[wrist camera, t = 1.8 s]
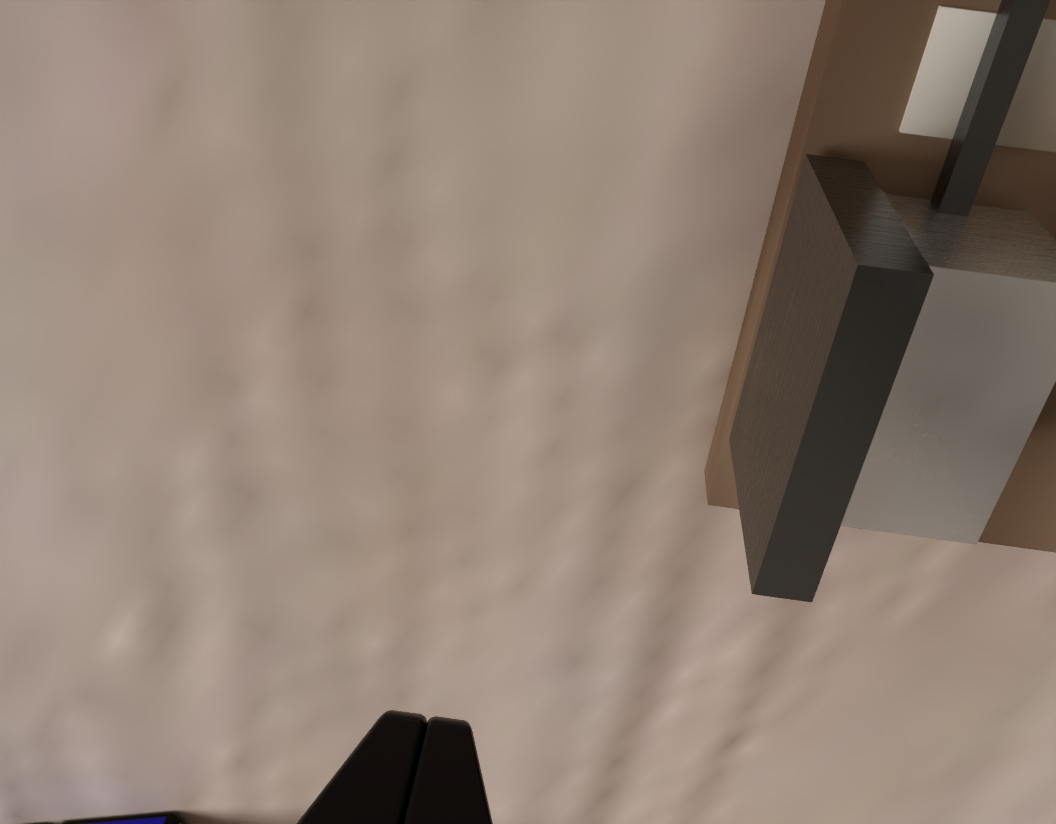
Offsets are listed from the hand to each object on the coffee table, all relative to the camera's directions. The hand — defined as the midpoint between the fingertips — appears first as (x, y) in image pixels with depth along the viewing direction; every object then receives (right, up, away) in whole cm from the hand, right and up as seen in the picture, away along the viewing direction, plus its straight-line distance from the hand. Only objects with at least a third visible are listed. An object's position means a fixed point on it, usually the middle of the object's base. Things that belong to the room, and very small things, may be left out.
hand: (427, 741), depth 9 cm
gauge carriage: (+8, +7, +7) cm, 12 cm away
